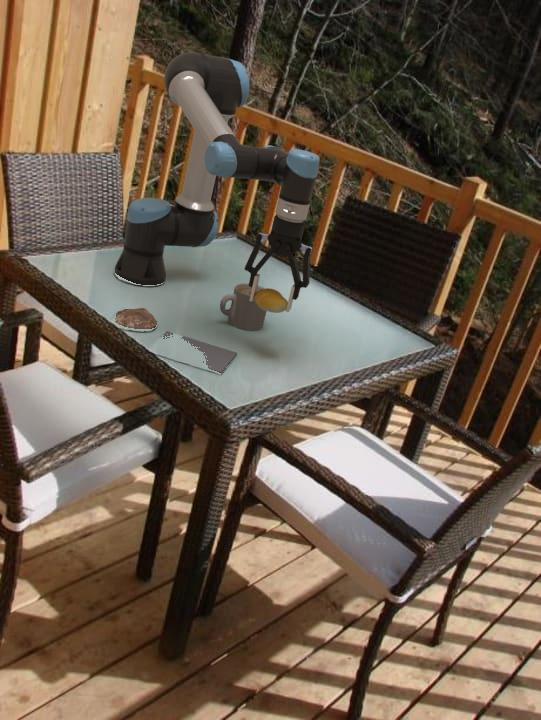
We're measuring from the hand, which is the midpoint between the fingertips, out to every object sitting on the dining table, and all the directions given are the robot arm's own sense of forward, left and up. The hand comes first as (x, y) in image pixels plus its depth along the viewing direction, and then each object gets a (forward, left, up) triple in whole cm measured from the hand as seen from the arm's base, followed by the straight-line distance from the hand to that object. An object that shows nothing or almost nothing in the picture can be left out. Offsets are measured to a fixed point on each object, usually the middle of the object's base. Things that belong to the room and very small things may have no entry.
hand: (270, 304), depth 179 cm
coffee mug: (-10, +15, -14) cm, 22 cm away
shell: (-33, -5, -14) cm, 36 cm away
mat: (-14, -13, -13) cm, 23 cm away
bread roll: (0, 0, -1) cm, 1 cm away
